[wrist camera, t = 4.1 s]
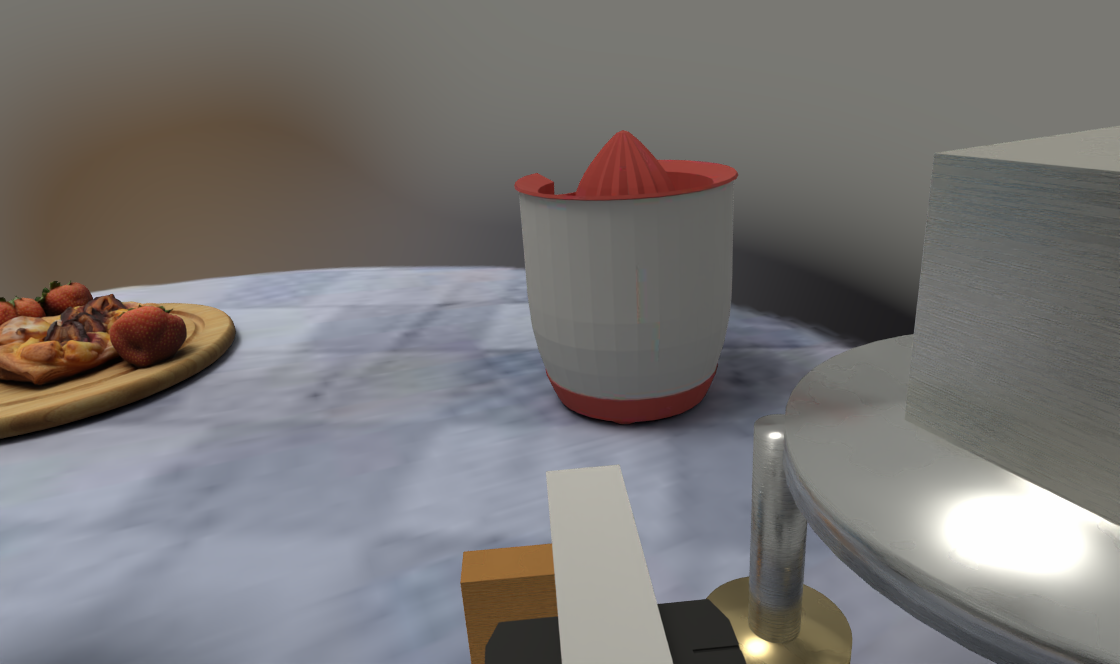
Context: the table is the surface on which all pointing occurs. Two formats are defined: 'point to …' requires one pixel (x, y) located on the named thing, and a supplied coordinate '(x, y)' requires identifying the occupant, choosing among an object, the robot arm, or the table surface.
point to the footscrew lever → (749, 603)
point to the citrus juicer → (630, 281)
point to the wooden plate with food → (96, 353)
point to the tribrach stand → (987, 413)
